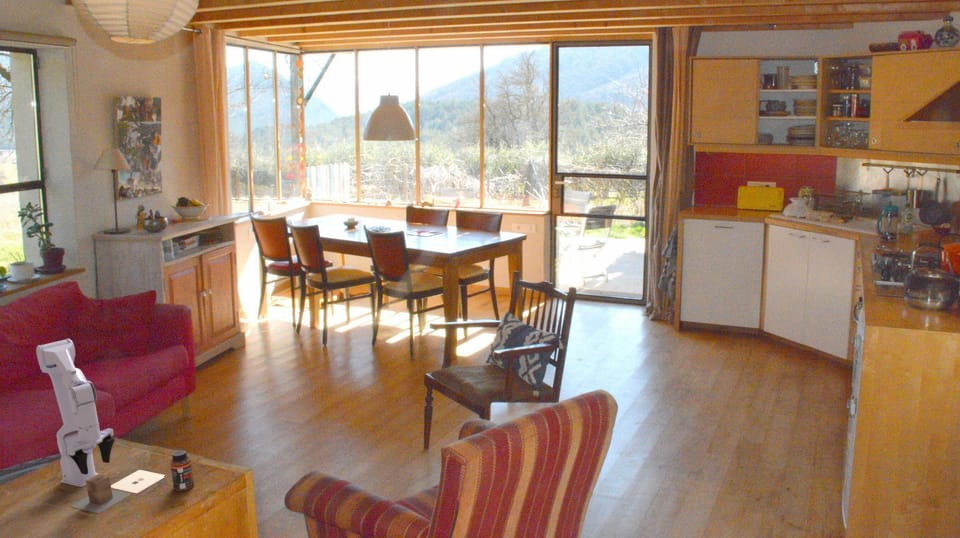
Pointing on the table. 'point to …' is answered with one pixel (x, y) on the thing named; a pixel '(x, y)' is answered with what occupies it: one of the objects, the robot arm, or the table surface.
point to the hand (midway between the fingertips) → (95, 467)
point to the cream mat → (137, 481)
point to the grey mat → (96, 508)
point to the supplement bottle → (181, 471)
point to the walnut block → (99, 489)
